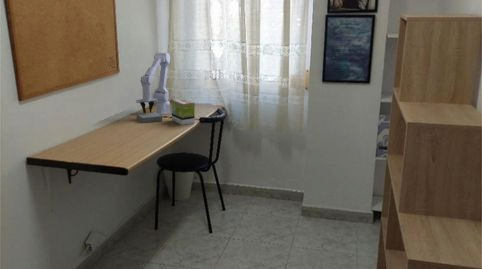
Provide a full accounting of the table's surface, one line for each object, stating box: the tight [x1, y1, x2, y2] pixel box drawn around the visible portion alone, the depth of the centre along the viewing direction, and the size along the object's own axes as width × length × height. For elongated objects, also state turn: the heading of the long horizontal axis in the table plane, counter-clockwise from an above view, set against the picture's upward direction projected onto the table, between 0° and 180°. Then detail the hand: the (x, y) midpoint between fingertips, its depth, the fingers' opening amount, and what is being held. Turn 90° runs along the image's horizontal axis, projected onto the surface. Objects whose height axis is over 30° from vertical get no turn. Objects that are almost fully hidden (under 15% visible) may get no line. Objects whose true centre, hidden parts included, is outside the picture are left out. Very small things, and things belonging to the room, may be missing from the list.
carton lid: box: [136, 107, 163, 119], centre depth 308 cm, size 14×12×4 cm
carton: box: [136, 114, 163, 124], centre depth 309 cm, size 14×12×3 cm
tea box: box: [171, 98, 195, 126], centre depth 306 cm, size 15×10×15 cm, turn 37°
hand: (147, 112), depth 312 cm, fingers open, 4 cm apart
